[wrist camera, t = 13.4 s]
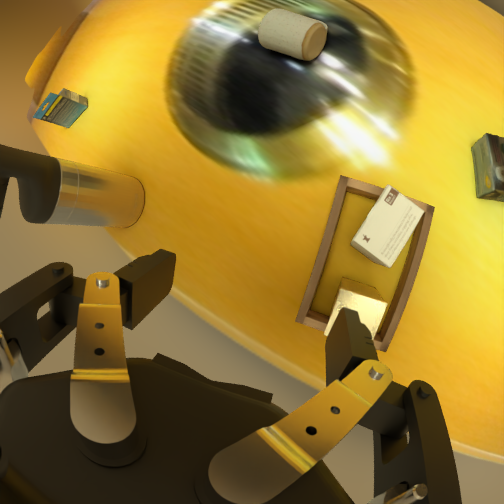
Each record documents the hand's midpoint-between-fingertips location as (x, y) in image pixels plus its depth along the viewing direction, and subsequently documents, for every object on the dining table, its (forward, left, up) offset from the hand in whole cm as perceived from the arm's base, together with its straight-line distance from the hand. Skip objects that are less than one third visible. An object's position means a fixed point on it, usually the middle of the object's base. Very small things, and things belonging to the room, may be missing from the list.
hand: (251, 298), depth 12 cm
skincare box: (+6, +6, -24) cm, 25 cm away
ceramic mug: (-10, +33, -24) cm, 42 cm away
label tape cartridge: (-64, +18, -24) cm, 70 cm away
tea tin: (+6, -3, -24) cm, 25 cm away
